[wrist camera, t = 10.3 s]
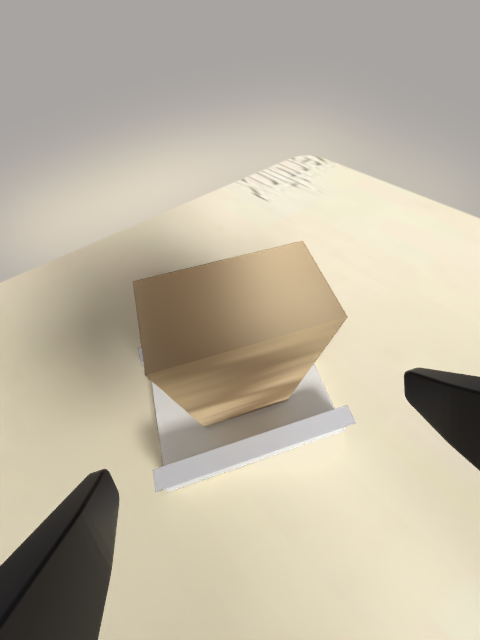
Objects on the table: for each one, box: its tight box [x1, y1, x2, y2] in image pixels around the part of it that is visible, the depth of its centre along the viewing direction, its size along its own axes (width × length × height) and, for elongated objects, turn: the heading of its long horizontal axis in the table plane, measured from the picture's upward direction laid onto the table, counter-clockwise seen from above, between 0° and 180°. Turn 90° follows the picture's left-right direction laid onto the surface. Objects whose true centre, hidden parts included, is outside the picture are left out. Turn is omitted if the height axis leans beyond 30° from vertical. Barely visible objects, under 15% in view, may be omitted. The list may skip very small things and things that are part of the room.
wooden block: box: [133, 241, 347, 427], centre depth 12 cm, size 6×3×11 cm, turn 107°
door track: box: [138, 347, 356, 492], centre depth 16 cm, size 11×8×3 cm
